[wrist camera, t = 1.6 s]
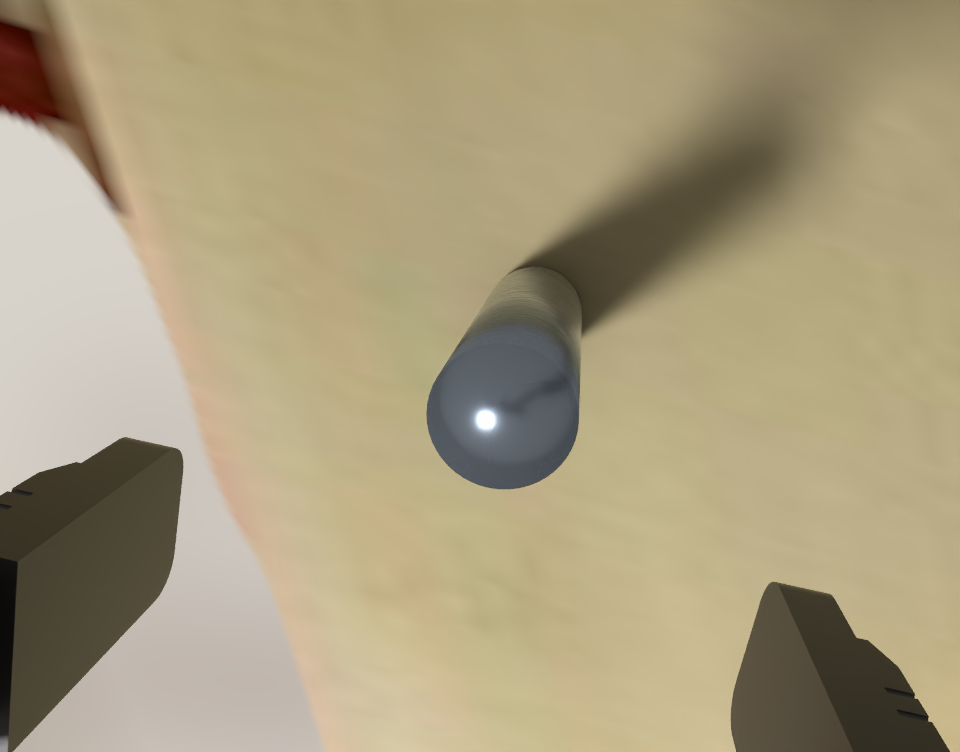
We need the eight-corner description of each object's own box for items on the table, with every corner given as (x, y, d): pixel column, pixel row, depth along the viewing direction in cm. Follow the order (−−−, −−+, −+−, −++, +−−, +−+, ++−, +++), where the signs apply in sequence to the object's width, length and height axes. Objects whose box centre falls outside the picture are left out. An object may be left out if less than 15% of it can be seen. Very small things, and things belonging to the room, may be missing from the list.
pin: (545, 247, 30) (519, 312, 18) (600, 325, 30) (608, 437, 19) (468, 302, 30) (396, 398, 19) (523, 376, 31) (485, 516, 19)
